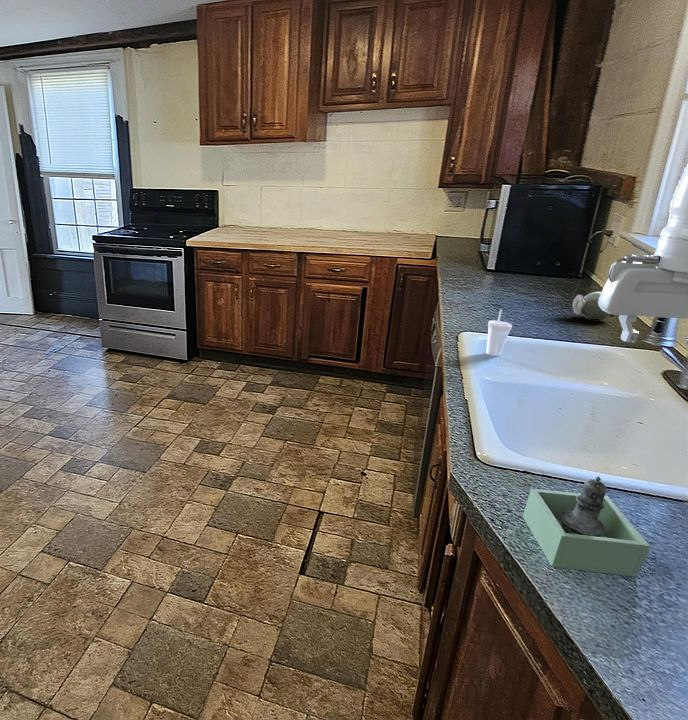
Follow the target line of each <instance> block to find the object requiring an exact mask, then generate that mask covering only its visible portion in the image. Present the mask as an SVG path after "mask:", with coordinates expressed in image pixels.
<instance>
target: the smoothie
mask: <svg viewBox="0 0 688 720" xmlns="http://www.w3.org/2000/svg"><path fill="white" fill-rule="evenodd" d="M503 310H504V309H502V308H500V309H499V314H498V318H497V320H495V319H493V320H488V321H487V322H488V323H487V326H488V329H487V341H486V351H485V352H486V354H487V355H488V356H492V357H500V356H501V354H502V352H503V348H504V346H505V343H506V342H507V338H508V336H509V333H510V332H511V330H512V329H513V324H512V323H511V322H507V321H503V320H501V317H502V313H503Z"/></svg>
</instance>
